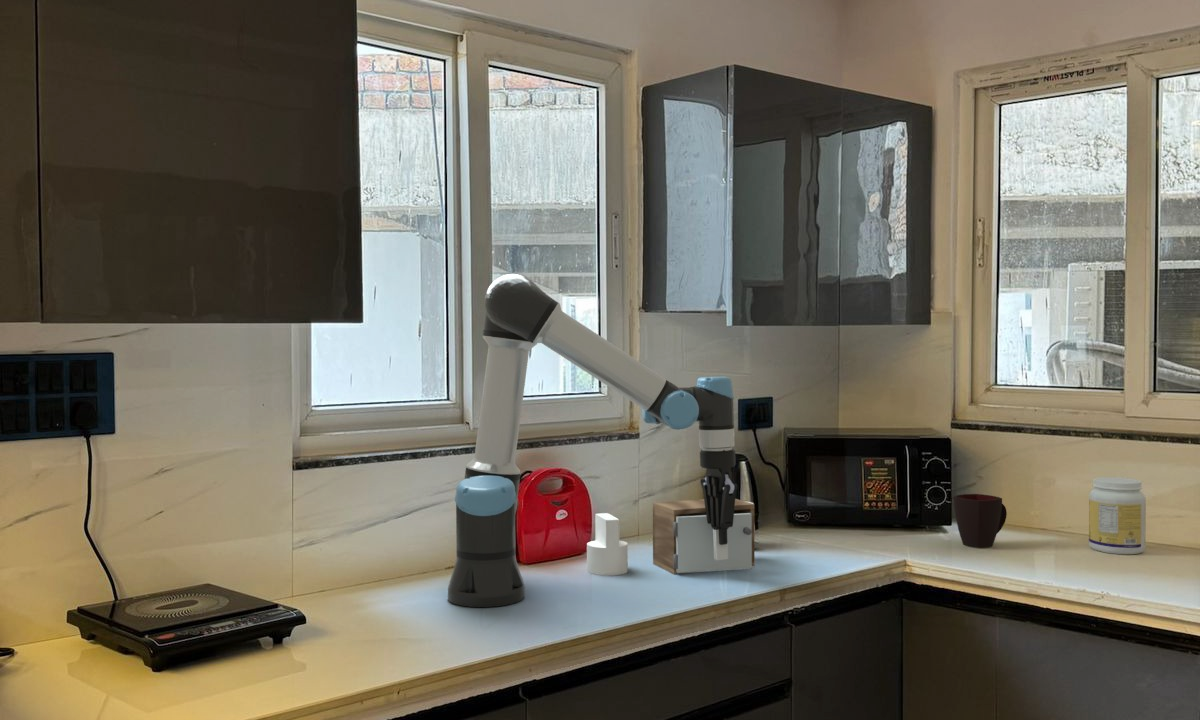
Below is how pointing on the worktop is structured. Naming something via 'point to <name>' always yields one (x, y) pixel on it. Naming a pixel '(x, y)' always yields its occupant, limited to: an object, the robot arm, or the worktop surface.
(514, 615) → the worktop surface
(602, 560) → the base with upright slab
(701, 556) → the door
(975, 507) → the mug
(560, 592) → the worktop surface
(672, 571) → the cabinet
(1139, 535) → the supplement tub
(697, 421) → the robot arm
